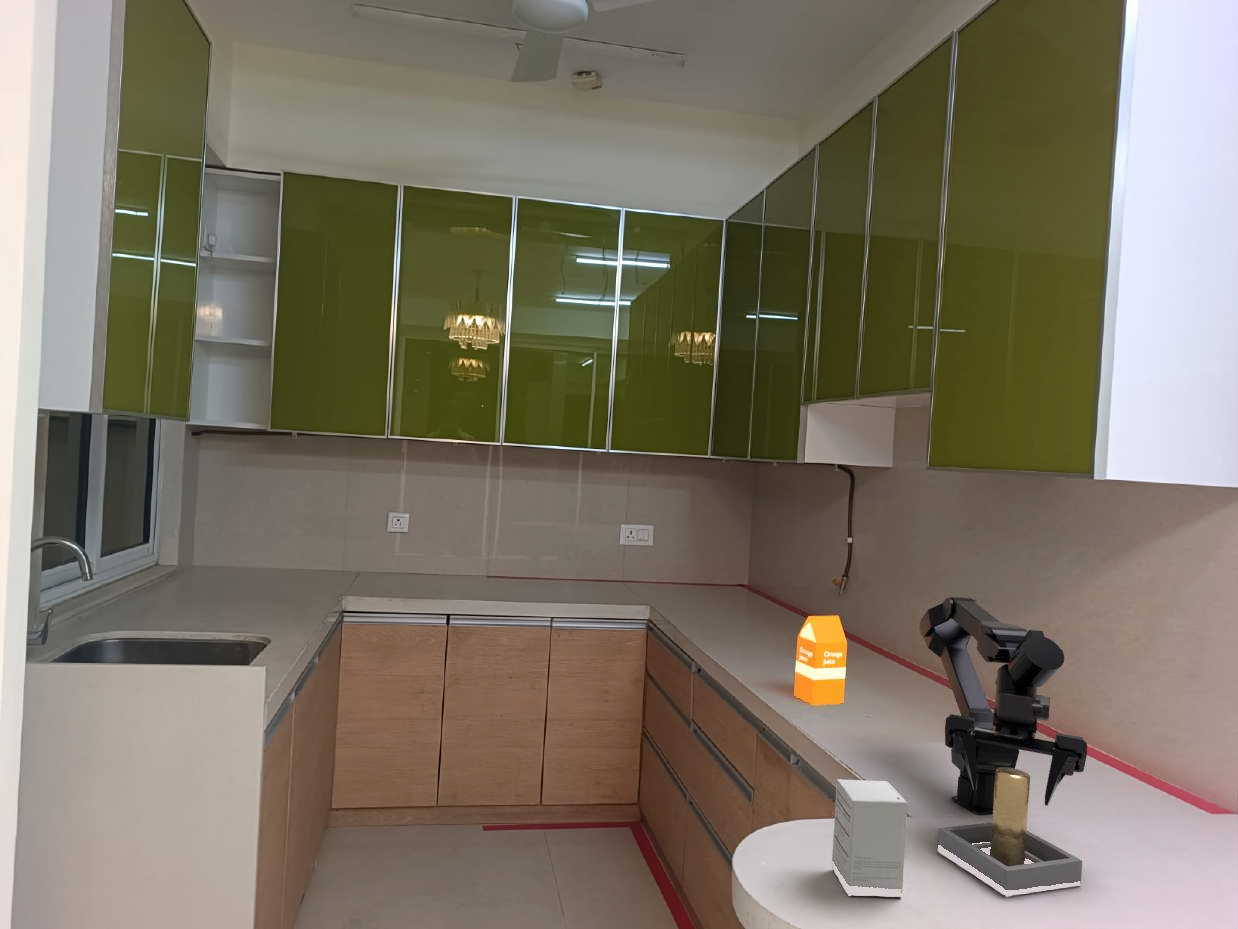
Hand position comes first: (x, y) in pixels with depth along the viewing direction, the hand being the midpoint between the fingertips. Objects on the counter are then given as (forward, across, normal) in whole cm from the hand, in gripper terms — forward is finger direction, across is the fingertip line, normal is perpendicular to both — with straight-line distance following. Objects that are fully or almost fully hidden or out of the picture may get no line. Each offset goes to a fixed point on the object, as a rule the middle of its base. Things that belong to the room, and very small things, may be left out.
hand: (1010, 796), depth 120 cm
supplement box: (+19, -17, -4) cm, 25 cm away
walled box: (+7, 0, +7) cm, 10 cm away
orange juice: (-42, -41, +57) cm, 82 cm away
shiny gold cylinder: (+7, 0, +6) cm, 9 cm away
